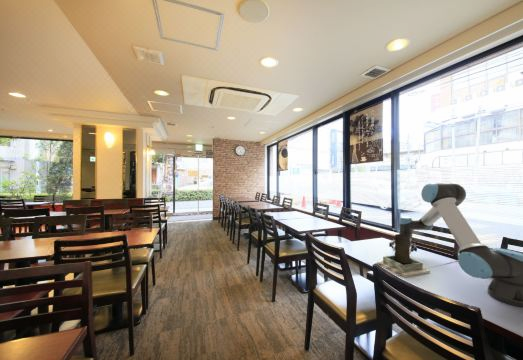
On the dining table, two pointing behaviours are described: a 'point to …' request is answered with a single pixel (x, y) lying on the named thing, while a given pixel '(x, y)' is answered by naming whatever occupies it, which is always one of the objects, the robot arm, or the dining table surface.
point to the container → (402, 249)
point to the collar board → (403, 267)
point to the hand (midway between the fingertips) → (401, 250)
